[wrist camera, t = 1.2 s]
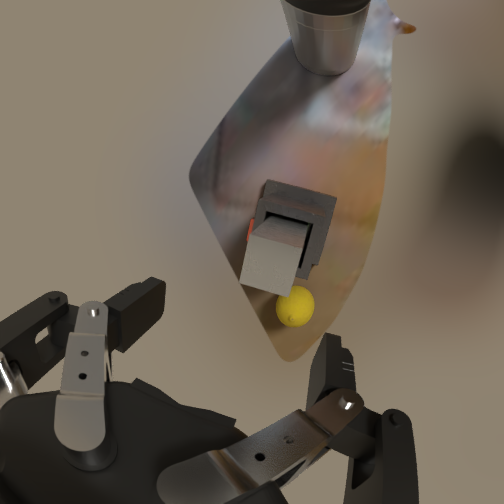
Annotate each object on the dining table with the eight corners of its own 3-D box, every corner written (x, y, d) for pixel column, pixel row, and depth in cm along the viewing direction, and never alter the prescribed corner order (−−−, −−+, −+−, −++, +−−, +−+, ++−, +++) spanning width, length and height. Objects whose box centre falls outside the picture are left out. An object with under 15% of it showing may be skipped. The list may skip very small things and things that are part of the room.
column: (282, 204, 38) (248, 232, 20) (311, 212, 37) (304, 248, 20) (275, 233, 39) (237, 283, 22) (303, 241, 39) (289, 299, 21)
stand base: (268, 179, 39) (247, 181, 28) (336, 197, 37) (343, 206, 26) (254, 244, 42) (229, 270, 31) (317, 262, 41) (316, 295, 29)
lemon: (285, 312, 44) (277, 339, 37) (276, 282, 43) (266, 304, 36) (318, 306, 42) (317, 333, 35) (310, 274, 41) (308, 296, 34)
